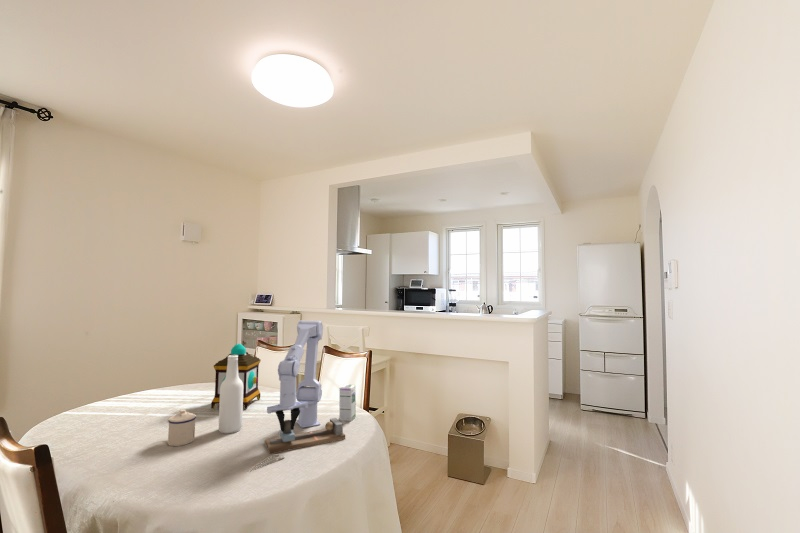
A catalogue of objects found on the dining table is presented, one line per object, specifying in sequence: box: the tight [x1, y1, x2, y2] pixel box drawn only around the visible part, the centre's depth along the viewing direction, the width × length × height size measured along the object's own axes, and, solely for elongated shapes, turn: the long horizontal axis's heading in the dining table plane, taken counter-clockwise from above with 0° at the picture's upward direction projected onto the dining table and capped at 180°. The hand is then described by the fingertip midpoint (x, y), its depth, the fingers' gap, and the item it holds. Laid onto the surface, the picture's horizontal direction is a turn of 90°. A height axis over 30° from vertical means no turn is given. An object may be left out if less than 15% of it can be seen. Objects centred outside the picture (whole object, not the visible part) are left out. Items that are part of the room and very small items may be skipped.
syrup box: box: [338, 384, 357, 422], centre depth 168 cm, size 6×6×14 cm
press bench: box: [264, 417, 346, 455], centre depth 143 cm, size 10×28×6 cm, turn 119°
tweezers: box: [249, 453, 285, 472], centre depth 123 cm, size 18×5×2 cm, turn 149°
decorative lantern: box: [210, 343, 261, 410], centre depth 189 cm, size 20×20×30 cm
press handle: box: [279, 419, 296, 442], centre depth 140 cm, size 7×4×6 cm, turn 29°
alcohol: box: [218, 355, 244, 435], centre depth 155 cm, size 9×9×30 cm
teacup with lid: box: [167, 409, 197, 447], centre depth 143 cm, size 12×9×12 cm
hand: (287, 430), depth 140 cm, fingers closed on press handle, 3 cm apart
